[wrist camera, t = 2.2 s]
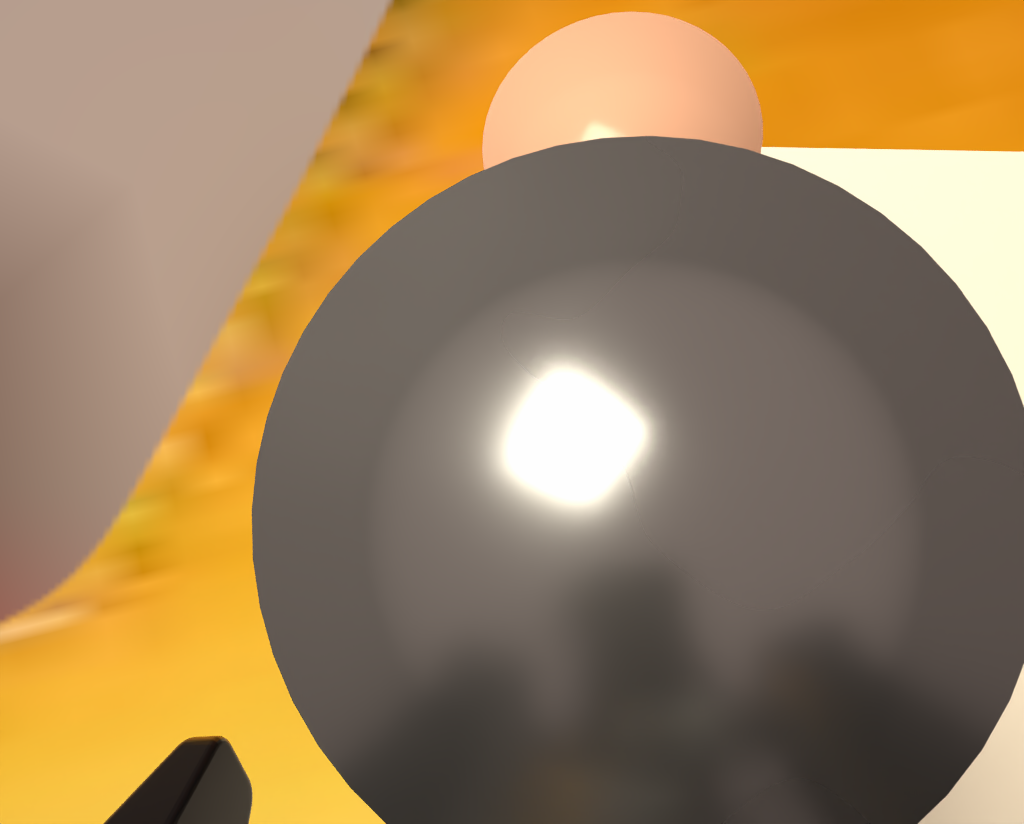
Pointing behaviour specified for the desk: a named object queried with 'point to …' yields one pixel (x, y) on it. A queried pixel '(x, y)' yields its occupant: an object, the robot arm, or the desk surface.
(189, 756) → the robot arm
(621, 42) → the peach rounded cylinder
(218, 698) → the desk surface
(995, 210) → the board
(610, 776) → the shiny metal cylinder
